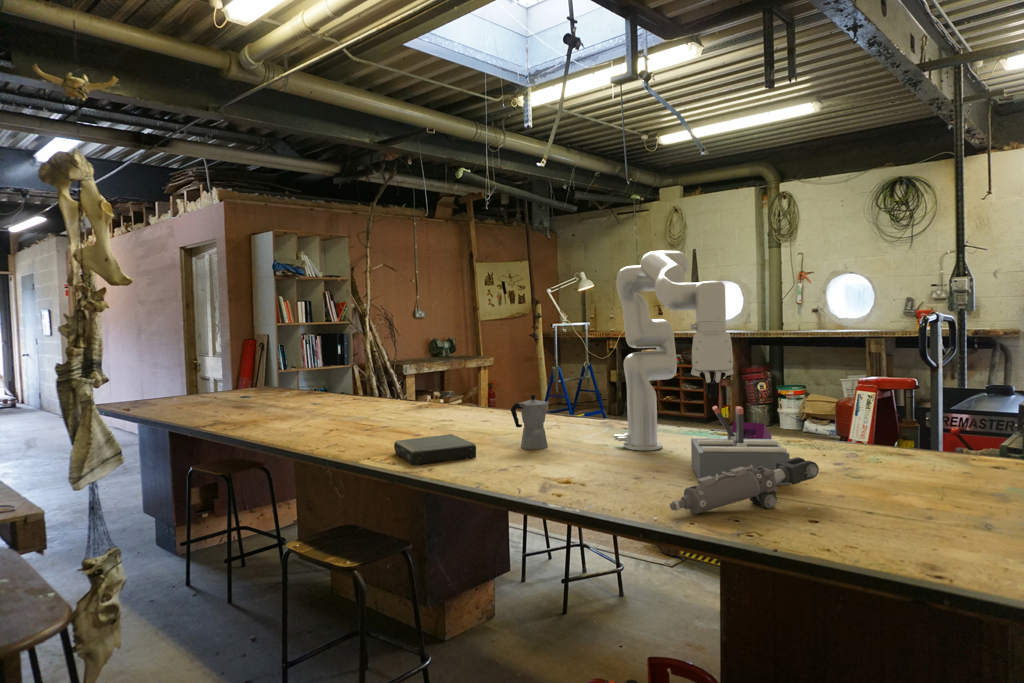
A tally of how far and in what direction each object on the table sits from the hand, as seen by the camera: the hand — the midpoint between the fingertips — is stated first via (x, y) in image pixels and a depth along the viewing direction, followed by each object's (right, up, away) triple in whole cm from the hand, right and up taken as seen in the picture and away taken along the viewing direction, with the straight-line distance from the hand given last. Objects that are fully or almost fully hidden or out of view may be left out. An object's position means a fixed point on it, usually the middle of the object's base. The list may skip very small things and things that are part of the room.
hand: (712, 397), depth 166 cm
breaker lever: (+7, -13, 0) cm, 15 cm away
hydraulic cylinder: (-1, -23, -24) cm, 33 cm away
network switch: (-78, -23, +38) cm, 90 cm away
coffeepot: (-46, -21, +47) cm, 69 cm away
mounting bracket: (+25, -20, +36) cm, 48 cm away
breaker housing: (+8, -22, +4) cm, 23 cm away
